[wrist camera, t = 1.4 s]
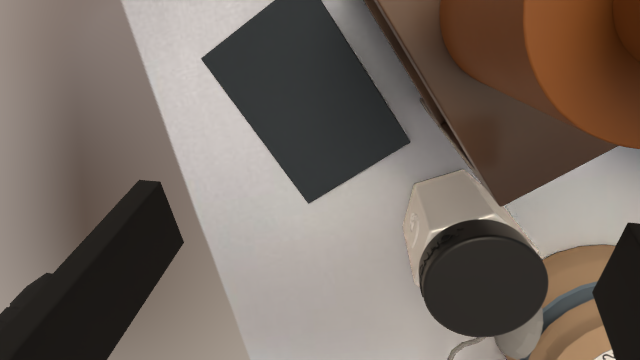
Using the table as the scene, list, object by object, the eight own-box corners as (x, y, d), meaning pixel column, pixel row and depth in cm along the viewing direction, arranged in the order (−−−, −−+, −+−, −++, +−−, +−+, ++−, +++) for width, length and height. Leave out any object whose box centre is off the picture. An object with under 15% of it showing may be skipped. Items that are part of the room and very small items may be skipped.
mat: (202, 58, 36) (200, 58, 35) (306, -24, 33) (305, -25, 32) (309, 201, 39) (308, 203, 39) (409, 140, 36) (410, 142, 36)
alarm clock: (759, 460, 34) (471, 483, 38) (678, 372, 42) (450, 398, 47) (780, 289, 28) (441, 337, 32) (682, 227, 37) (424, 271, 41)
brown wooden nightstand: (342, -27, 32) (320, -95, 14) (459, -116, 30) (628, -353, 11) (426, 111, 35) (500, 208, 17) (538, 41, 33) (774, 66, 14)
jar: (417, 160, 37) (442, 219, 26) (507, 176, 37) (572, 243, 26) (394, 245, 40) (407, 330, 29) (477, 261, 40) (522, 353, 29)
